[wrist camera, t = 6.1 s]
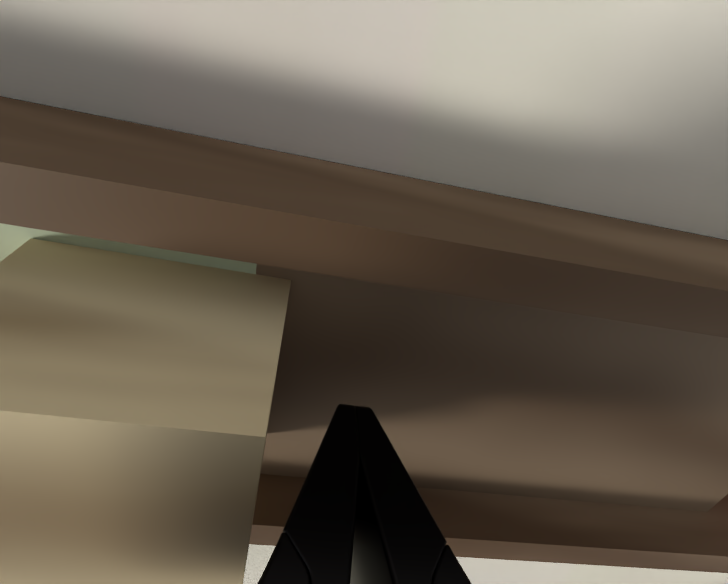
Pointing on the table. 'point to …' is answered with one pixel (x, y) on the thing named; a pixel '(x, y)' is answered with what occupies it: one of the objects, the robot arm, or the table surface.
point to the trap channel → (433, 331)
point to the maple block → (131, 415)
